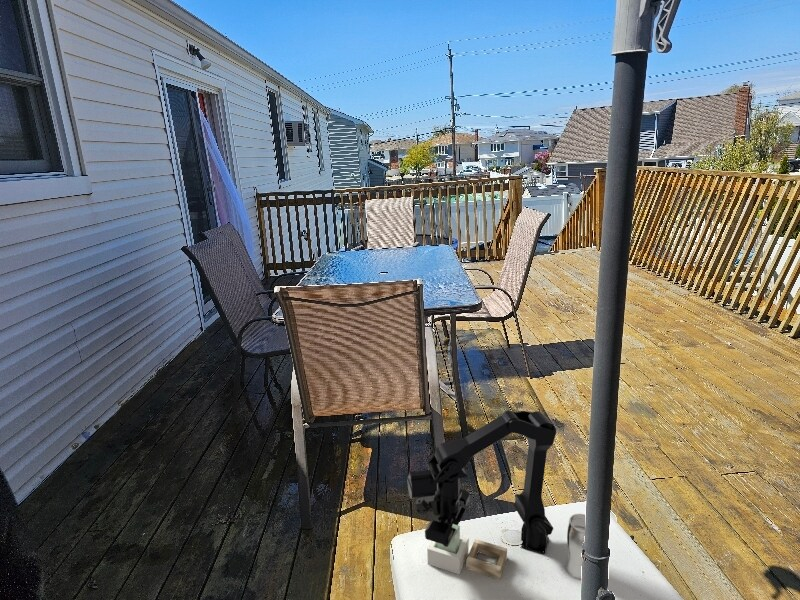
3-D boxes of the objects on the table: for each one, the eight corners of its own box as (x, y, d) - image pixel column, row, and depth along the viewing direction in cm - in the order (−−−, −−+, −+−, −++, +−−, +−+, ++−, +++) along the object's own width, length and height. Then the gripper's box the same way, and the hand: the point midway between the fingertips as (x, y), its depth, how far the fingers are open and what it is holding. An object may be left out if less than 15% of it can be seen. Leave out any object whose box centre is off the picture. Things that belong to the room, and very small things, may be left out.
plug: (459, 550, 137) (459, 521, 134) (454, 560, 133) (454, 531, 131) (442, 544, 139) (442, 516, 136) (437, 555, 135) (436, 525, 133)
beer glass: (594, 582, 128) (599, 534, 123) (565, 578, 129) (569, 530, 125) (590, 561, 134) (595, 514, 130) (563, 558, 136) (566, 511, 131)
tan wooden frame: (506, 557, 136) (507, 548, 135) (499, 579, 129) (500, 570, 129) (474, 547, 140) (475, 538, 139) (466, 568, 133) (466, 559, 132)
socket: (468, 552, 138) (468, 537, 137) (459, 574, 131) (459, 558, 130) (437, 543, 142) (437, 528, 140) (427, 563, 135) (427, 548, 134)
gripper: (432, 463, 142) (432, 510, 146) (405, 505, 126) (406, 556, 130) (470, 473, 137) (470, 520, 142) (447, 517, 121) (447, 569, 126)
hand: (448, 540), depth 135 cm, fingers closed on plug, 4 cm apart
